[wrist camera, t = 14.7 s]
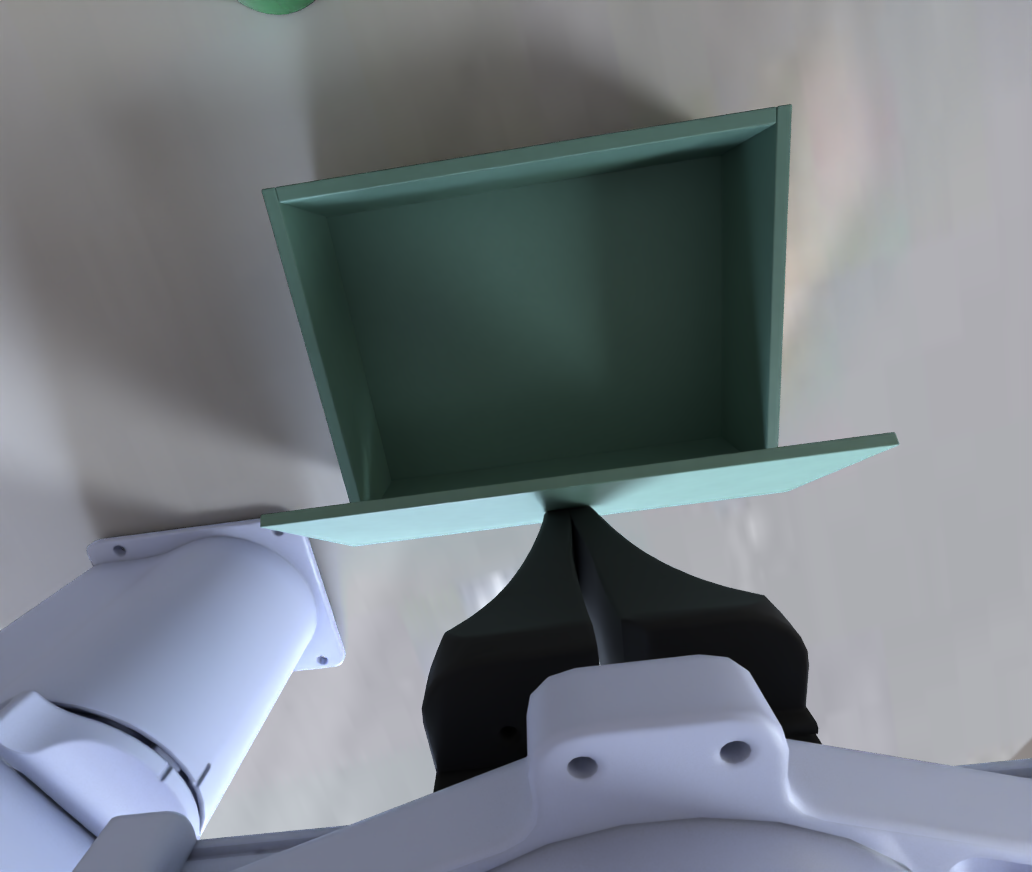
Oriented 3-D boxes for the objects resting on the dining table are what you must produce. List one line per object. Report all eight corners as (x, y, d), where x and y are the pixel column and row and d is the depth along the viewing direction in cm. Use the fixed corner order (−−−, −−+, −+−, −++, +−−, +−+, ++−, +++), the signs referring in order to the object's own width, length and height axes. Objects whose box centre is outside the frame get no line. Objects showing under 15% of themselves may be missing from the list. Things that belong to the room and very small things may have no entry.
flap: (784, 482, 15) (787, 491, 15) (353, 537, 16) (353, 546, 16) (895, 431, 10) (900, 444, 10) (259, 514, 11) (259, 527, 11)
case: (727, 441, 19) (777, 480, 16) (386, 486, 20) (358, 534, 16) (728, 142, 16) (793, 103, 12) (317, 208, 17) (260, 189, 13)
